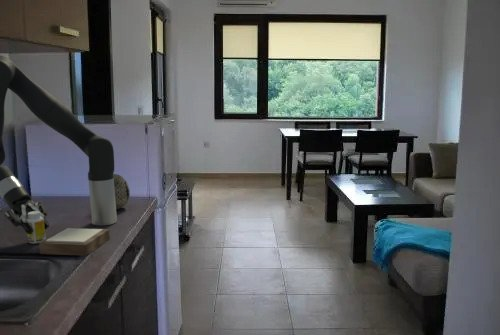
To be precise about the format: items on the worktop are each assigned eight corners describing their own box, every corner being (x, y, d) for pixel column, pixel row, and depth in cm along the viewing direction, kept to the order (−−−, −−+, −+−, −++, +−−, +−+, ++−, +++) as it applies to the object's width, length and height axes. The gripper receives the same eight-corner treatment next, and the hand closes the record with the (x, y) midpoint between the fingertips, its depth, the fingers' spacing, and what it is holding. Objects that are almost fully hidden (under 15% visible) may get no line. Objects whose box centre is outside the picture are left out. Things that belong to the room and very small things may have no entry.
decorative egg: (96, 211, 204) (94, 176, 201) (112, 204, 215) (109, 171, 212) (121, 213, 201) (119, 177, 198) (135, 206, 212) (133, 172, 209)
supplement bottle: (48, 238, 170) (45, 210, 168) (42, 243, 164) (39, 214, 162) (31, 239, 169) (28, 210, 167) (25, 244, 164) (22, 215, 162)
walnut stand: (66, 237, 170) (65, 226, 169) (109, 239, 167) (108, 227, 167) (40, 253, 154) (38, 241, 154) (87, 255, 152) (86, 243, 151)
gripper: (-3, 190, 161) (25, 229, 157) (35, 181, 173) (61, 218, 169) (-11, 204, 164) (16, 243, 160) (27, 194, 176) (52, 230, 173)
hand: (39, 230), depth 165 cm, fingers closed on supplement bottle, 5 cm apart
